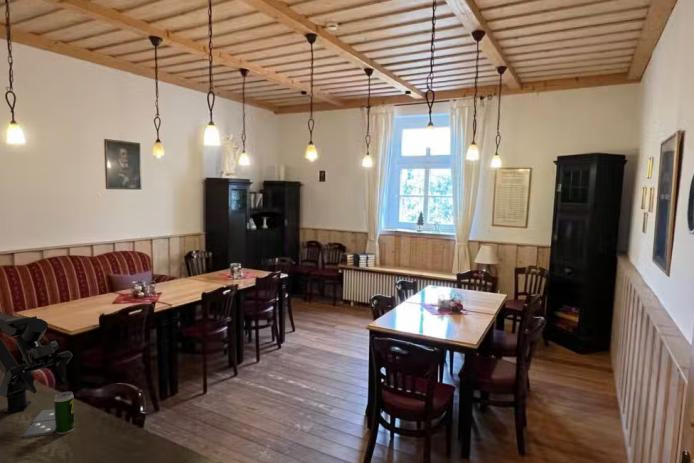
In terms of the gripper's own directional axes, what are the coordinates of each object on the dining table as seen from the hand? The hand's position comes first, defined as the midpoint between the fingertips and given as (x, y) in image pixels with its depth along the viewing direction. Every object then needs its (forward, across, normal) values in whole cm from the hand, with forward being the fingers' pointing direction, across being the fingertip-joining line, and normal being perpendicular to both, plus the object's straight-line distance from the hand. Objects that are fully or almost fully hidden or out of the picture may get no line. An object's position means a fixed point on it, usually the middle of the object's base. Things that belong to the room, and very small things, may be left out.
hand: (50, 387), depth 142 cm
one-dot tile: (+5, +2, +13) cm, 15 cm away
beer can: (+15, 0, +4) cm, 15 cm away
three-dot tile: (+9, -3, +9) cm, 13 cm away
